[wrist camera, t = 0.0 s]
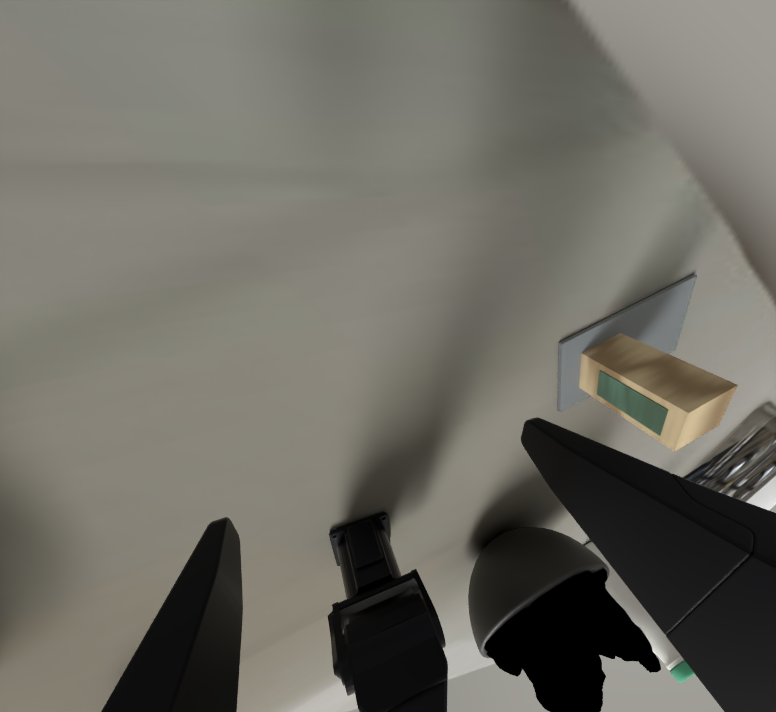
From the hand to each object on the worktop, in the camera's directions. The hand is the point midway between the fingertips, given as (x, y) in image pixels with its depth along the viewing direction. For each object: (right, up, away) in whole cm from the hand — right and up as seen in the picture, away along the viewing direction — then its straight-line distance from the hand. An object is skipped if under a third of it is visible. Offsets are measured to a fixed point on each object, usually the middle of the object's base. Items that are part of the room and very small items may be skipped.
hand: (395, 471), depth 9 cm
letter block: (+23, +3, +25) cm, 34 cm away
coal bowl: (+17, -25, +40) cm, 50 cm away
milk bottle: (+41, -37, +57) cm, 79 cm away
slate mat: (+26, +5, +26) cm, 37 cm away
